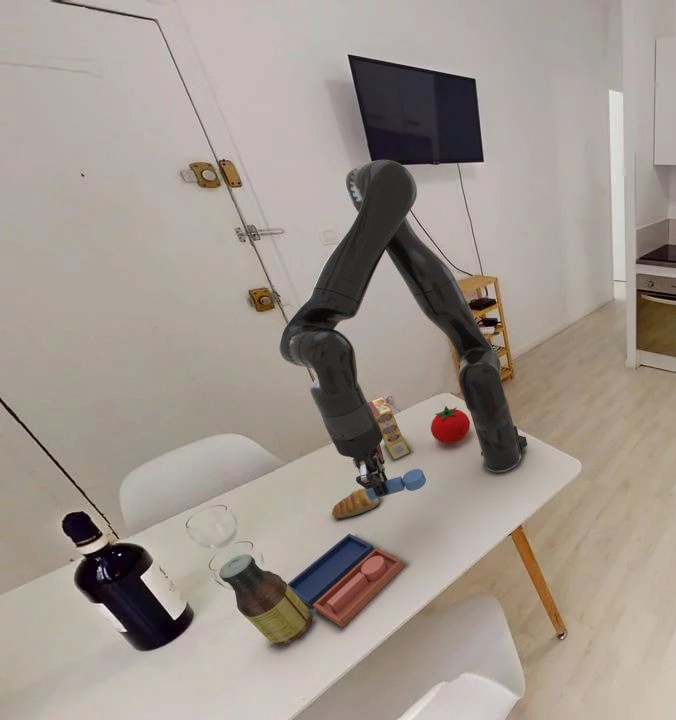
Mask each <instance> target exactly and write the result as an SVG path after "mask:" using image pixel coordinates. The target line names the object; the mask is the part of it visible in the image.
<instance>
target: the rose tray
mask: <svg viewBox="0 0 676 720" xmlns="http://www.w3.org/2000/svg"><path fill="white" fill-rule="evenodd" d="M374 556H381V557H383V559H384V561H385V562H386V564H387V571H386V573H385V574H384V575H383V576H382V577H381V578H379V579H378V580H375V581H368V582H369V584H368V585H366V586H365V587H364V588H363V589H362V590H361V591H360V592H359V593H358V594H357V595H356V596H355V597H354V598H353V599H352V600H351V601H350V602H349V603H348V604H347V605H346V606H344V607H343V608H342V609H341V610H340V611H339V612H338V613H336V612H335V611H333V610H332V609H331V608H330V606H329V605H328V603H327V601H328V600H329V599H331V598H332V597H333V596H334V595H335V594H336V593H337V592H338V591H339V590H340V589H342V588H343V587H344V586H345V585H346V584H347V583H348V582H349V581H350V580H351V579H352V578H354V577H355V576H356V575H357V574H358V573H359V572H360V573H361V574H363V573H362V572H361V568H362V566H363V564H364V563H365V562H366V561H367V560H368V559H370V558H372V557H374ZM402 560H403V559H402ZM402 560H401V559H400V558H398V557H396V556H395V555H392V554H390V553H388V552H386V551H384V550H383V549H380V548H379V547H376V548H374V550H373V551H372V552H371V553H370V554H369V555H368V556H367V557H365V558H364V559H363V560H362V561H361V562H360V563H359V564H358V565H357V566H355V567H354V568H353V569H352V570H351V571H350V572H349V573H348V574H346V575H345V576H344V577H343V578H342V579H341V580H340V581H339V582H338V583H336V584H335V585H334V586H333V587H332V588H331V589H330V590H329V591H328V592H326V593H325V594H324V595H323V596H322V597H321V598H320V599H319V600H317V601H316V602H315V603H314V604H313V608H314V610H315V611H316V612H317V613H319V614H320V615H322V616H323V617H325V618H327V619H328V620H330V621H331V622H332V623H334V624H336V625H337V626H339V627H340V628H342V629H343V628H344V627H345V626H347V624H348V623H349V622H350V621H351V620H352V619H353V618H354V617H356V615H357V614H358V613H359V612H360V611H362V609H363V608H365V606H366V605H367V604H368V603H369V602H370V601H371V600H373V598H375V596H376V595H377V594H378V593H380V591H381V590H382V589H384V588H385V587H386V586H387V584H388V583H390V582H391V580H393V578H395V577H396V575H397V574H399V573H400V572H401V570H403V569H404V567H405V564H404V562H403V561H402Z"/></svg>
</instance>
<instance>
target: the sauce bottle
mask: <svg viewBox="0 0 676 720" xmlns="http://www.w3.org/2000/svg"><path fill="white" fill-rule="evenodd" d="M218 575H219V577H220V579H221V580H222V581H223V582H224V583H228V585H229V586H230V587H231V588H232V590H233V592H234V594H235V599H236V608H237V610H238V611H239V612H240V613H241V614H242V615H243V616H244V617H245V618H246V619H247V621H249V622H250V623H251V624H252V625H253V626H254V627H255V628H256V629H257V630H258V632H260V633H261V634H262V635H263V636H264V637H265V638H266V639H267V640H268V641H269V642H271V643H273V644H275V645H279V646H283V645H288V644H290V643H292V642H294V641H296V640H297V639H299V638H300V637H301V636H302V635H304V633H305V632H306V631H307V630H308V628H309V627H310V625H311V623H312V619H313V618H312V613H311V611H310V609H309V608H308V607H307V604H305V603H303V602H302V601H301V600H300V598H299V597H298V596H297V595H296V594H295V593H294V591H293V590H292V589H291V588H290V587H289V585H288V583H287V581H285V580H283V579H282V577H281V576H280V575H279V574H277V573H274V572H272V571H270V570H263V569H262V568H260V567H259V566H258V565H257V563H256V560H255V558H254V557H253V556H252V555H250V554H248V553H247V554H245V553H244V554H241V555H237V556H235V557H233V558H232V559H230V560H229V561H227V562H226V563H225V564H224V565H222V566H221V568H220V569H219V574H218Z"/></svg>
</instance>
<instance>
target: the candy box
mask: <svg viewBox="0 0 676 720" xmlns="http://www.w3.org/2000/svg"><path fill="white" fill-rule="evenodd" d="M367 402H368V404H369V405H370V407H371V409H372V411H373V413H374V416H375V418H376V420H377V422H378V425H379V427H380V429H381V432H382V434H383V439H382V441H383V442H384V444H385V447H386V448H387V450H388V451H389V453H390V455H391V456H392V458H393V459H394V460H397V459H399V458H401V457H403V456H406V455H407V454H409V453H410V451H409V448H408V446H407V444H406V442H405V439H404V437H403V435H402V432H401V430H400V427H399V425H398V422H397V420H396V417H395V415H394V413H393V411H392V409H391V407H390V406H389V405H388V403H387V402H386V401H385V399H384V398H383V397H379V398H376V399H374V400H371V401H367Z"/></svg>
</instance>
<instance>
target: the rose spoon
mask: <svg viewBox="0 0 676 720" xmlns="http://www.w3.org/2000/svg"><path fill="white" fill-rule="evenodd" d="M386 571H387V564H386V562H385V561H384V559H383V557H381V556H374V557H372V558H370V559H368V560H367V561H366V562H365V563H364V564H363V566H362V568H361V572H362V573H363V574H361V573H360V572H359V573H358V574H357V575H356V576H355V577H354V578H352V579H351V580H350V581H349V582H348V583H347V584H346V585H345V586H344V587H343V588H342V589H340V590H339V591H338V592H337V593H336V594H335V595H334V596H333V597H332V598H331V599H329V600H328V601H327V603H328V605H329V606H330V608H331V609H332V610H333V611H335V612H336V613H338V612H339V611H340V610H341V609H342V608H343V607H344V606H346V605H347V604H348V603H349V602H350V601H351V600H352V599H353V598H354V597H355V596H356V595H357V594H358V593H359V592H360V591H361V590H362V589H363V588H364V587H365V586H366V585H368V584H369V582H368V581H375V580H378V579H379V578H381V577H382V576H383V575H384V574H385V573H386Z"/></svg>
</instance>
